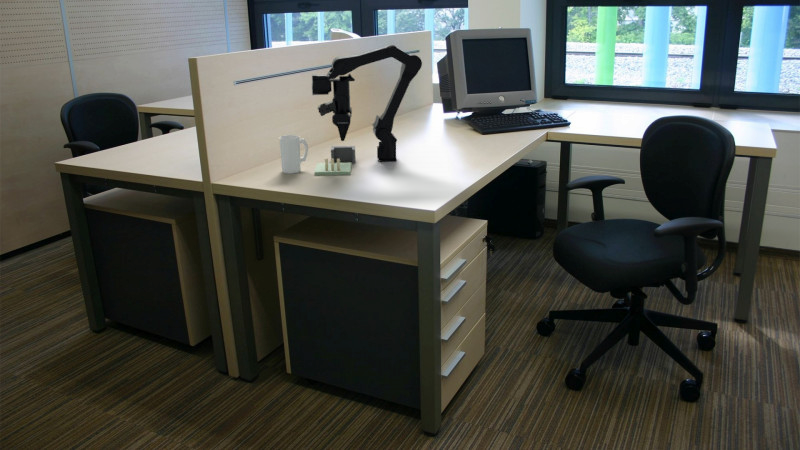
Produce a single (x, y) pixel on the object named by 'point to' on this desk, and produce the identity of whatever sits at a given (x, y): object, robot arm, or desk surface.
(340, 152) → the grey c-shaped bracket
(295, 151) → the mug
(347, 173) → the board
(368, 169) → the desk surface
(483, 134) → the desk surface
